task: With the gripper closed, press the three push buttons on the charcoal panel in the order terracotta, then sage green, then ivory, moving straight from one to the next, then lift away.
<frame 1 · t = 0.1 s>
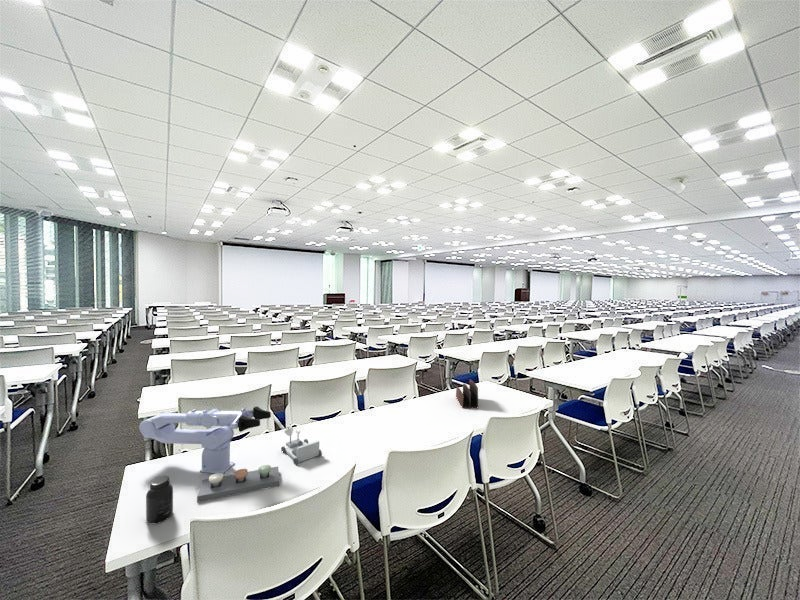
hand: (265, 418, 127), 22 cm above the table, tool horizontal, fingers open, 7 cm apart
letter holder: (466, 403, 213), on the table
ivory button: (216, 480, 117), point 3 cm above the table, slide at 0.0 cm
toy rover: (299, 454, 144), on the table
sage green button: (264, 472, 123), point 3 cm above the table, slide at 0.0 cm
button panel: (240, 485, 120), on the table
supplement bottle: (159, 517, 103), on the table
terracotta button: (240, 476, 120), point 3 cm above the table, slide at 0.0 cm
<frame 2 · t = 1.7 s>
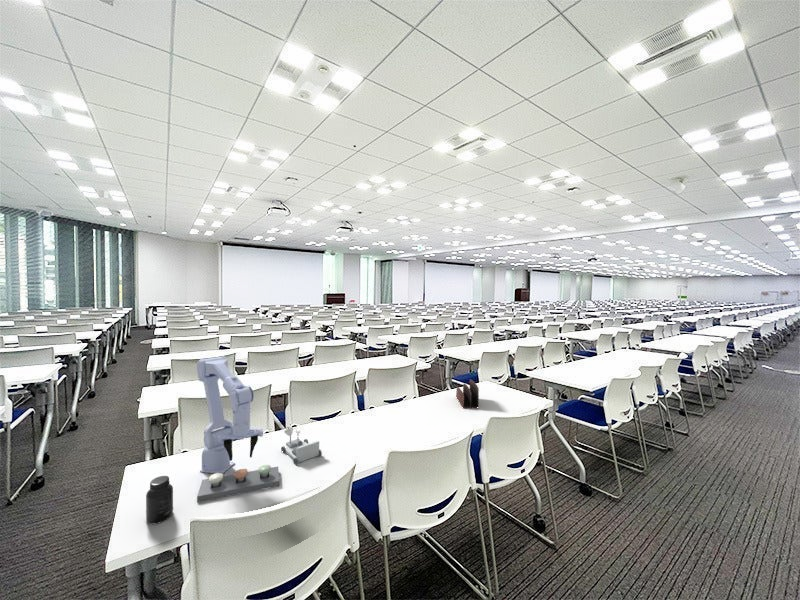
hand: (241, 457, 120), 10 cm above the table, tool pointing down, fingers open, 6 cm apart
nothing on the table moved.
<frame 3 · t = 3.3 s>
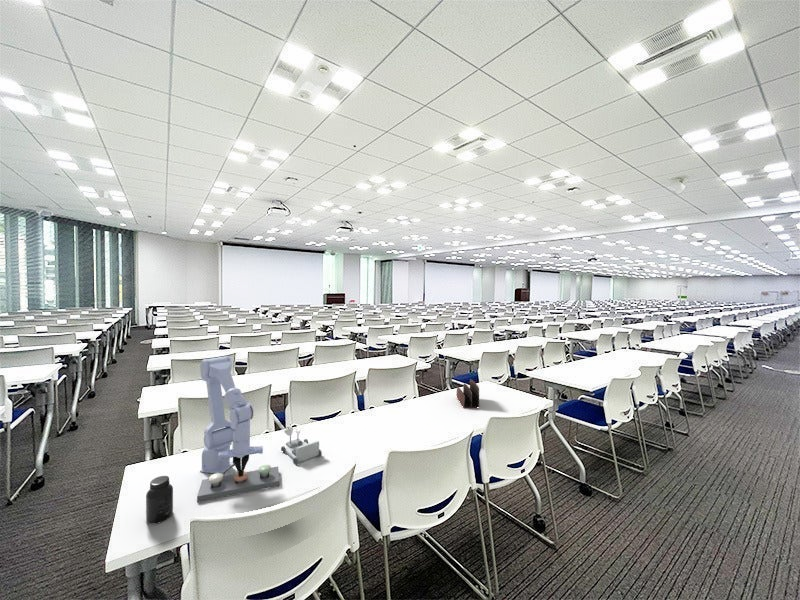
hand: (241, 475, 120), 4 cm above the table, tool pointing down, fingers closed, pressing on terracotta button
terracotta button: (240, 479, 120), point 2 cm above the table, slide at 1.0 cm, touching gripper
everything else where it was.
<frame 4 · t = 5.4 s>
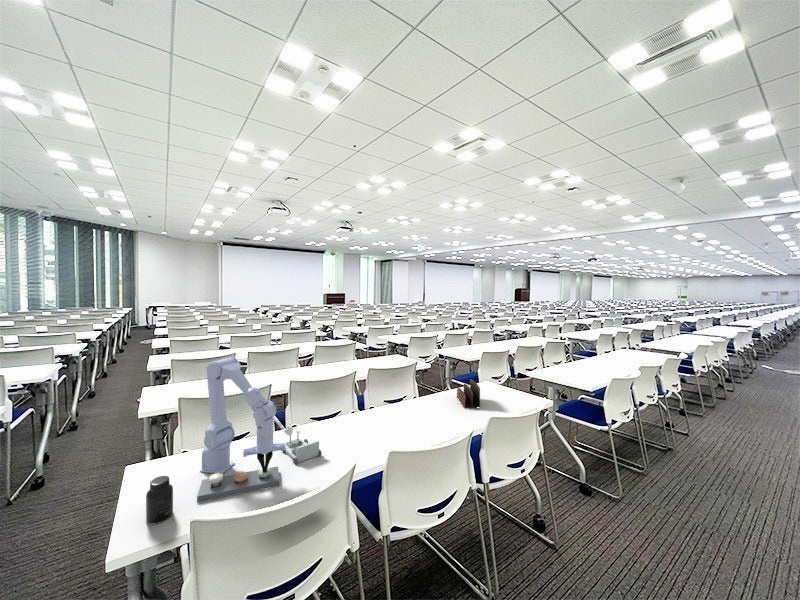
hand: (264, 471, 123), 4 cm above the table, tool pointing down, fingers closed, pressing on sage green button
sage green button: (264, 475, 123), point 2 cm above the table, slide at 1.2 cm, touching gripper
terracotta button: (240, 479, 120), point 2 cm above the table, slide at 1.2 cm
everything else where it was.
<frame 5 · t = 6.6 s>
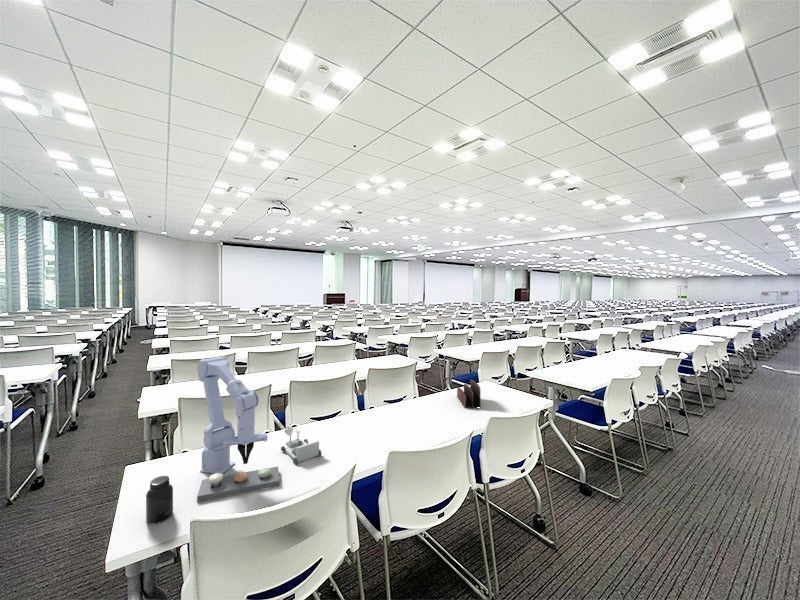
hand: (245, 462, 120), 8 cm above the table, tool pointing down, fingers closed
sage green button: (264, 475, 123), point 2 cm above the table, slide at 1.2 cm
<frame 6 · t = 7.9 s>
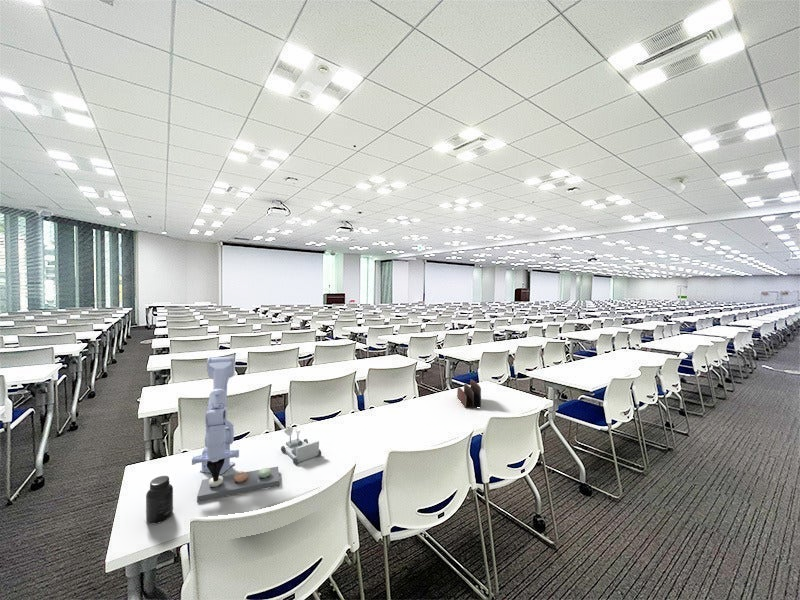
hand: (216, 479, 117), 4 cm above the table, tool pointing down, fingers closed, pressing on ivory button
ivory button: (216, 483, 117), point 2 cm above the table, slide at 1.1 cm, touching gripper
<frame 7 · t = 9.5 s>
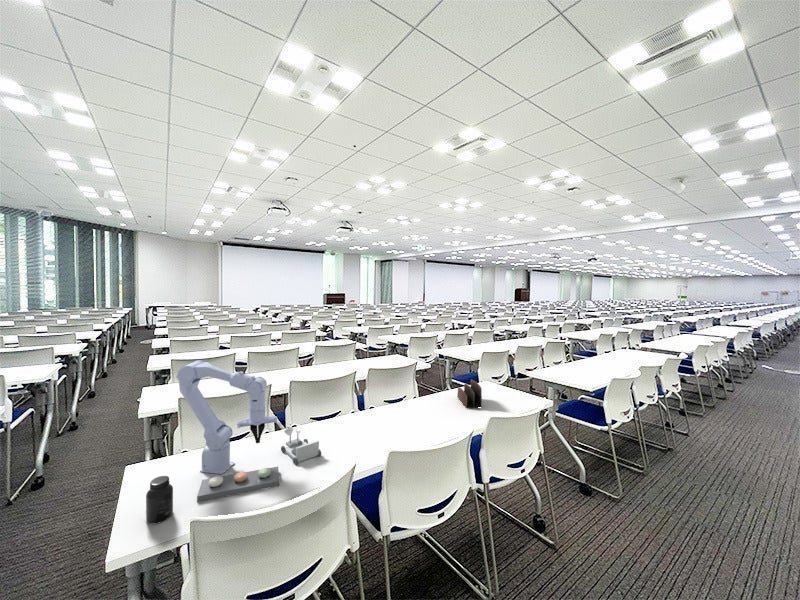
hand: (257, 442, 131), 10 cm above the table, tool pointing down, fingers closed
ivory button: (216, 484, 117), point 2 cm above the table, slide at 1.2 cm
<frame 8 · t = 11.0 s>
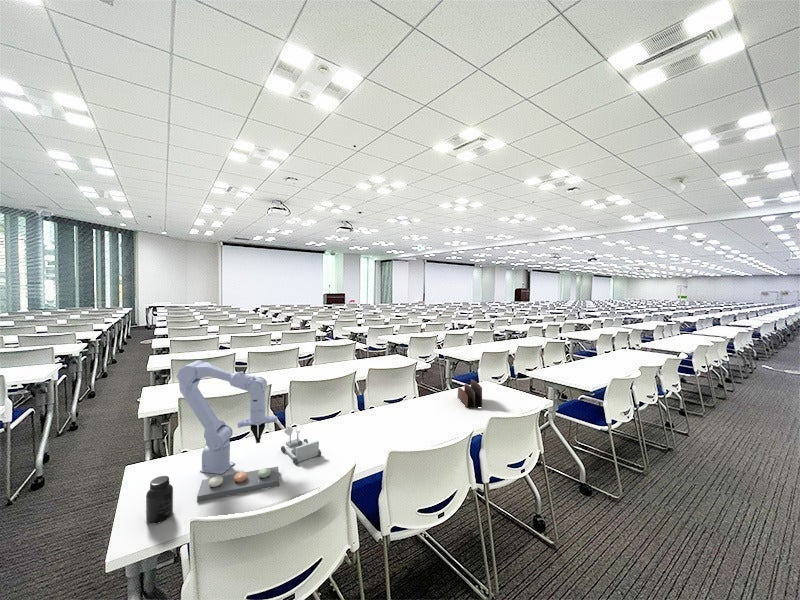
hand: (258, 442, 132), 10 cm above the table, tool pointing down, fingers closed
at the end: terracotta button slide at 1.2 cm; sage green button slide at 1.2 cm; ivory button slide at 1.2 cm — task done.
